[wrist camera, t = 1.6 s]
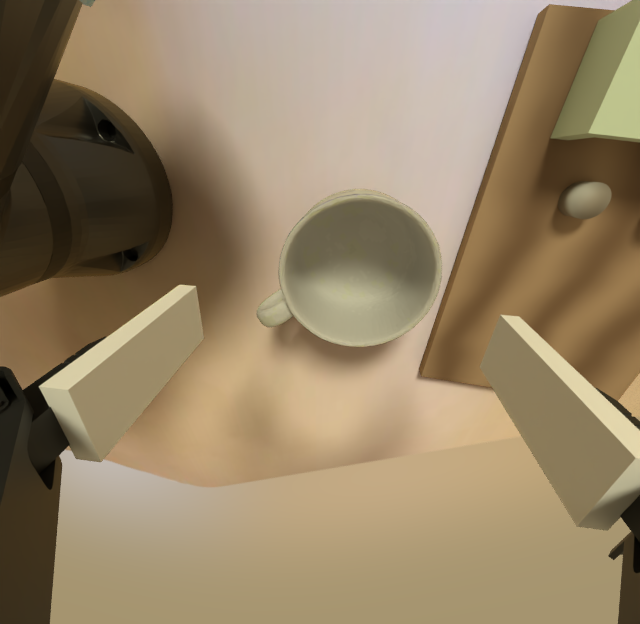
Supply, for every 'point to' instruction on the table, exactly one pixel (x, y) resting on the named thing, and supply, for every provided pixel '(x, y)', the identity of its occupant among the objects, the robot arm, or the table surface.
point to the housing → (606, 82)
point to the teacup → (356, 270)
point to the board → (549, 230)
